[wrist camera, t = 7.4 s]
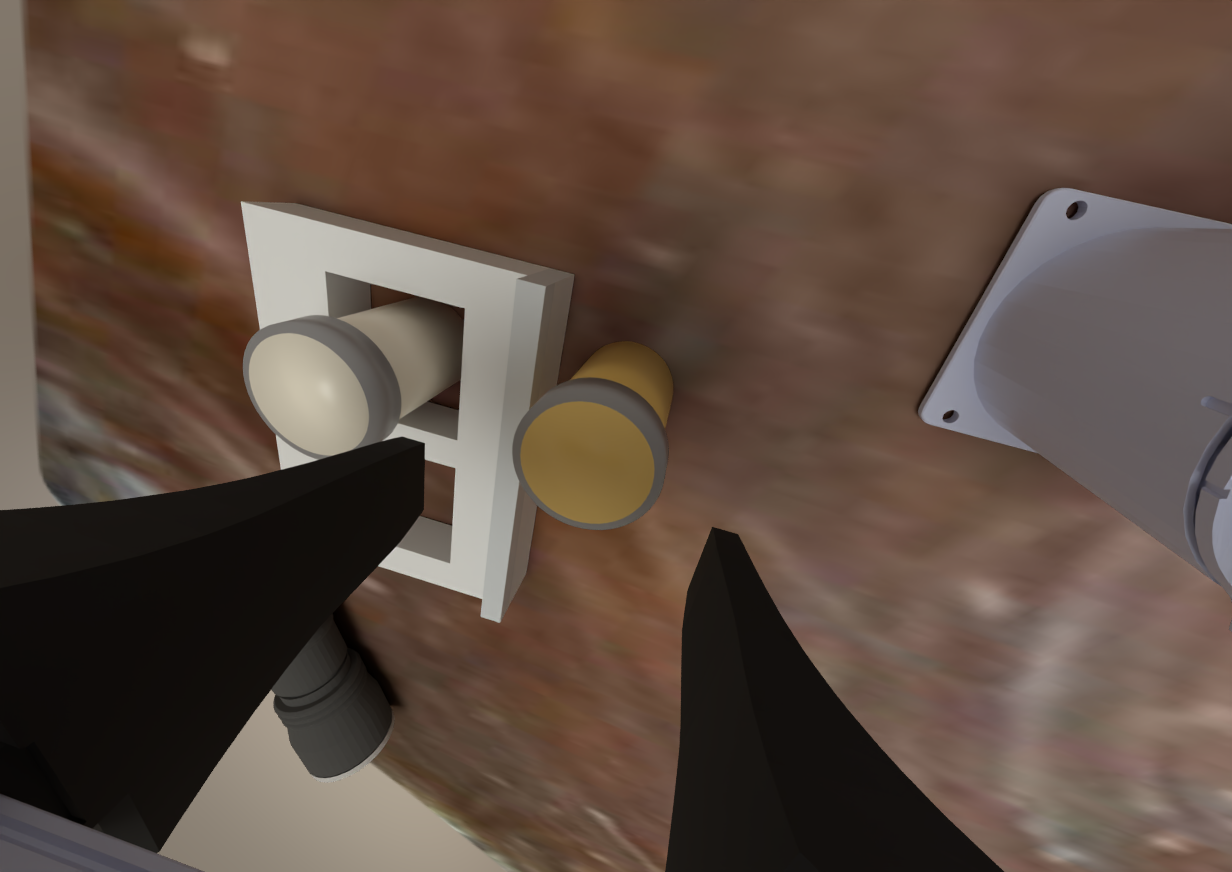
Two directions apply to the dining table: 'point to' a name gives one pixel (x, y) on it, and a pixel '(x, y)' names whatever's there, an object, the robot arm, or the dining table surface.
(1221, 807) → the dining table surface
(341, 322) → the cream grey-rimmed peg
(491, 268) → the housing
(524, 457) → the yellow cylinder grey rim
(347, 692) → the flashlight
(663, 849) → the dining table surface
